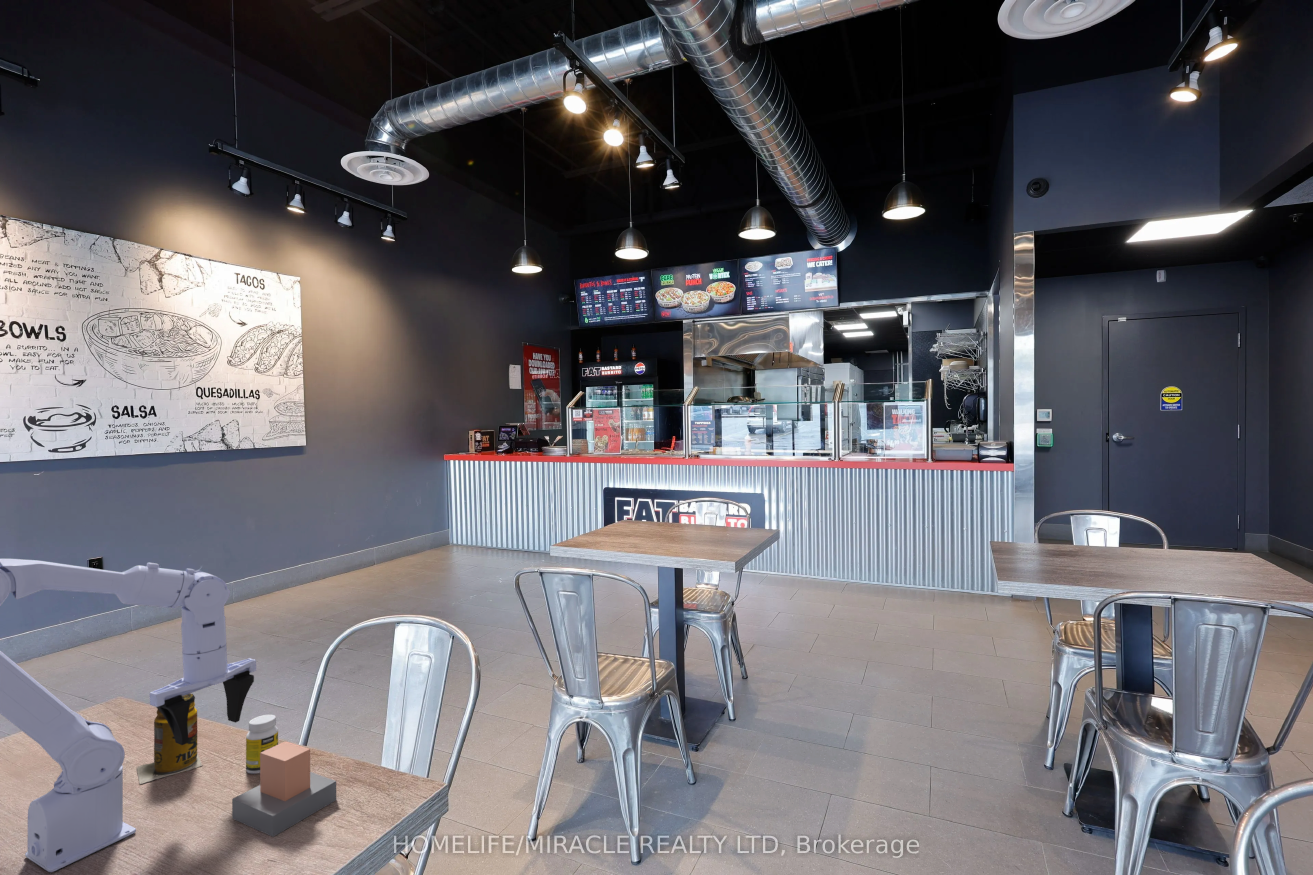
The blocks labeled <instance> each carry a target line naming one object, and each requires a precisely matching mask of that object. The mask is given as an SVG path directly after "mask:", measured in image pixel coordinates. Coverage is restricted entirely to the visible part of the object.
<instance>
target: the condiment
mask: <svg viewBox="0 0 1313 875" xmlns="http://www.w3.org/2000/svg"><path fill="white" fill-rule="evenodd" d="M183 698H184V701H185V702H188V703H190V707H189V712H188V721H187V726H188V743H187V744H184V745H180V744H178V743H176V742H175V738H174V735H173V732H172V730H171V728H170V726H169V724H168V722H167V720H166V719H165V717H164V716H163V715H162V713H161V712H160V711H159V710H158V709H157V710H156V716H155V718H154V721H153V762H149V763H145V764H142V765H138V766H136V772H137V777H138V782H139V785H142V784H145V783H148V782H152V781H154V780H159V779H162V778H165V777H168V776H169V777H170V776H172V775H173V776H174V775H177V774H179V773H184V772H186V771H190V770H192V769H196V768H199V767H201V766H203V763H202V761H201V759H200V755H199V753H198V745H199V743H198V709H197V708H196V707H195V706H196V703H195V701H196V700H195V699H196V696H195V694H193V693H190V694H187V695H184V696H182V699H183Z"/></svg>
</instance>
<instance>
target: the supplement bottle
mask: <svg viewBox="0 0 1313 875" xmlns="http://www.w3.org/2000/svg"><path fill="white" fill-rule="evenodd" d="M276 724H277V717H276V715H275V714H262V715H259V716H256V717H254V718H252V719H250V720H249V722H248V732H247V733H246V736H245V771H246V772H247V773H248V774H253V775H254V774H260V753H261V752H263V751H265V750H267V749H270V748H272V747H274V746H276V745H278V744H279V728H278V726H276Z"/></svg>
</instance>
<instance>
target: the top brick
mask: <svg viewBox="0 0 1313 875" xmlns="http://www.w3.org/2000/svg"><path fill="white" fill-rule="evenodd" d="M310 772H311V749H310V748H308V747H306V746H301V745H298V744H296V743H292V742H290V741H286V740H284V741H283V742H281V743H278V745H276V746H274V747H272V748H270V749H267V750H265V751H263V752H261V753H260V773H259V774H260V775H259V776H260V778H259V781H260V782H259V785H260V792H262V793H265V794H267V795H270V796H273V797H275V798H278V799H280V800H283V801H287V800H288V799H290V798H292V797H294V796H296V795H297V794H299V793H301V792H303V791H305V790H307V789H308V788H310Z"/></svg>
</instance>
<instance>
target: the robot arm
mask: <svg viewBox="0 0 1313 875" xmlns="http://www.w3.org/2000/svg"><path fill="white" fill-rule="evenodd" d="M44 590H45V591H46V590H47V591H48V590H50V591H61V592H62V591H64V592H78V593H79V592H80V593H95V594H106V595H107V594H109V595H110V594H111V595H116V597H117V598H118V600H119V601H120V603H122V604H123V605H129V606H130V605H131V606H142V607H143V606H144V607H154V608H155V607H156V608H163V609H164V608H166V609H175V608H179V607H181V609H180V611H181V624H180V628H181V629H180V630H181V647H182V649H181V650H182V651H181V652H182V668H183V669H182V672H183V673H182V674H183V677H181V678H179V679H178V680H175V681H173V682H171V683H169V684H167V685H165V686H163V687H161V688H158V689H155V690H152V691H150V692H149V706H153V707H156V709H157V710H159V711H160V712H161V713H162V715H163V716H164V717H165V719H166V720H167V722H168V724H169V726H170V728H171V730H172V732H173V735H174V738H175V742H176V743H178V744H180V745H184V744H187V743H188V726H187V721H188V712H189V707H190V703H188V702H185V701H184V698H183V699H182V696H184V695H187V694H190V693H191V694H193V693H196V692H198V691H201V690H203V689H205V688H209V687H211V686H215V685H219V684H221V683H222V684H223V690H224V693H225V697H226V698H225V700H226V715H227V720H228V721H230V722H232V723H238V722H240V720H241V714H242V710H243V707H244V703H245V700H246V698H247V696H248V692H249V691H250V689H251V686H253V684H254V682H255V675H253V674H251V673H254V672H256V671H257V660H256V659H253V658H251V657H249V658H246V659H242V660H239V661H235V662H230V663H228V651H227V649H228V648H227V646H228V645H227V629H226V628H227V624H226V615H225V604H226V603H227V602H228V600H229V598H230V595H231V590H230V589H228V585H227V583H226V582H225V580H223V579H222V578H220V577H218V576H216V575H215V574H214V575H213V574H211V573H208V572H204V571H203V570H196V569H193V568H188V567H187V568H185V570H178V569H171V568H161V567H160V564H158V563H156V562H155V563H154V562H150V561H149V562H147V563H146V565H135V566H132V567H131V568H129V569H127V570H123V571H122V572H121V571H114V570H109V569H108V570H107V569H100V568H93V567H87V566H79V565H72V564H65V563H59V562H52V561H45V560H36V559H35V560H34V559H24V558H23V559H22V558H21V559H20V558H0V607H1V606H2V605H3V603H5V601H6V600H7V598H8V597H9V595H10V593H11V594H12V596H13V597H14V599H15V600H19V599H23V598H25V597H28V596H30V595H33V594H35V593H38V592H41V591H44ZM0 715H1V716H2V717H4V718H5V719H6V720H8V721H9V722H10V723H11V724H13V725H14V726H15V727H17V728H18V729H19V730H20V731H21V732H23V733H24V734H25V735H27V736H28V737H29V738H31V739H32V740H33V741H34V742H36V743H37V744H38V746H39V745H40V747H41V748H42V749H43V750H44V751H45V752H46V753H47V754H48V756H49V757H50V758H51V759H52V760H53V761H55V762H56V763H57V764H58V765H59V766H60V769H61V770H62V771H61V772H60V773H59V776H58V777H57V778H56V780H55V781H54V783H53V788H52V789H50V790H49V791H48V792H47V793H45V794H43V795H41V796H40V797H37V798H35V799H33V800H32V801H31V802H30V803H29V806H28V809H27V852H25V858H27V859H29V860H30V861H32V862H33V863H34V864H36V865H38V866H39V867H40V868H42V869H43V870H45V871H47V873H54V872H56V871H58V870H60V869H61V868H64V867H66V866H69V865H71V864H72V863H75V862H77V861H79V860H81V859H83V858H85V857H87V856H90V855H91V854H94V853H95V852H99V851H100V850H102V849H104V848H106V847H108V846H110V845H113V844H114V843H116V842H118V841H120V840H122V839H125V838H127V837H129V836H131V835H133V834H136V832H137V828H136V827H134V826H132V825H130V824H128V823H127V822H124V820H123V817H124V816H123V815H124V810H123V809H124V808H123V807H124V804H123V802H124V801H123V800H124V796H123V795H124V794H123V792H124V791H123V790H124V789H123V788H124V787H123V785H124V781H123V780H124V776H123V775H124V771H123V769H124V768H123V766H124V765H123V763H124V760H125V758H126V757H125V755H126V752H125V749H124V746H123V745H122V744H121V743H120V742H118V741H117V739H116V738H115V736H114V734H113V732H112V730H111V728H110V727H109V726H108V725H106V724H104V723H101V722H98V721H91V720H87V719H86V718H84V717H83V716H82V715H81V713H78V712H76V711H74V710H72V709H71V708H70V707H69V706H68V705H66V704H65V703H64V702H63V701H62V700H60V699H59V698H58V697H57V696H55V694H53V693H52V692H51V691H49V690H48V689H47V688H46V687H45V686H44V685H42V684H41V683H40V682H38V681H37V680H36V679H35V678H34V677H33V676H32V675H31V674H29V673H28V672H27V671H26V670H24V668H22V667H21V666H19V665H18V664H17V663H16V662H15V661H14V660H13V659H11V658H10V657H9V656H8V655H6V654H5V653H4V652H3V651H1V650H0Z"/></svg>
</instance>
